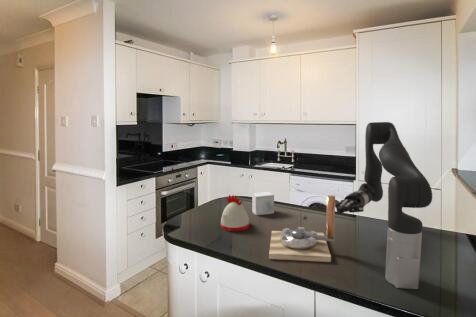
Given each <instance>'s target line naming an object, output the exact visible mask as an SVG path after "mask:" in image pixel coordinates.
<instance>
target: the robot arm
mask: <svg viewBox="0 0 476 317" xmlns="http://www.w3.org/2000/svg"><path fill="white" fill-rule="evenodd" d="M364 138H365V139H364V140H365V142H364V143H365V145H364V146H365V149H364V151H365V170H364V176H363V177H364V178H363V180H364V182H363V183H361V184H360V186H359V188H358V190H356V191H353V192H351V193H349V194H348V195H346V196H345V197H344V198H343V199H342V200H340V201H339V200H338V199H335V210H336V214H344V213H348V212H349V213H351V214H352V213H360V212H364V207H366V205H367V204H368V205H369V203H370V202H374V203H378V202H380V201H381V200H382V198H383V195H384V189H383V185H382V175H383V169H384V170H385V171H386V172H387V173H389V175H391V176H392V177H391V178H390V180H389V182H388V186H387V190H388V191H387V198H388V199H387V200H388V201H387V202H388V203H387V204H388V205H387V206H388V207H387V238H386V257H385V271H384V272H385V273H384V275H385V277H384V278H385V280H386V281H387V283H389V284H390V285H393V286H394V287H395V288H396V289H408V290H419V283H420V282H419V281H420V267H421V254H422V251H421V250H422V240H423V238H422V236H423V222H422V221H421V219H419V218H418V217H415V216H413V215H409V214H407V213H405V212H404V211H403V208H408V209H409V208H413V209H415V208H416V209H422V208H427V207H429V206H430V205H431V203H432V202H433V191H432V187H431V185H430V183H429V181H428V179H427V178H426V176H425V175H424V174H423V173H422V172H421V171H420V170H419V169H418V167H417V166H416V165H415V163H414V161H413V160H412V158H411V156H410V154H409V152H408V150H407V149H406V147H405V146H404V144H403V143H402V140H401V139H400V137H399V134H398V131H397V129H396V126H395V124H393V123H392V122H390V121H380V122H379V121H378V122H377V121H376V122H374V121H373V122H369V123H368V124H367V125H366V128H365V135H364ZM374 145H382V146H381V147H380V149H379V152H378V156H377V153H376V151H375V150H374Z"/></svg>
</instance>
